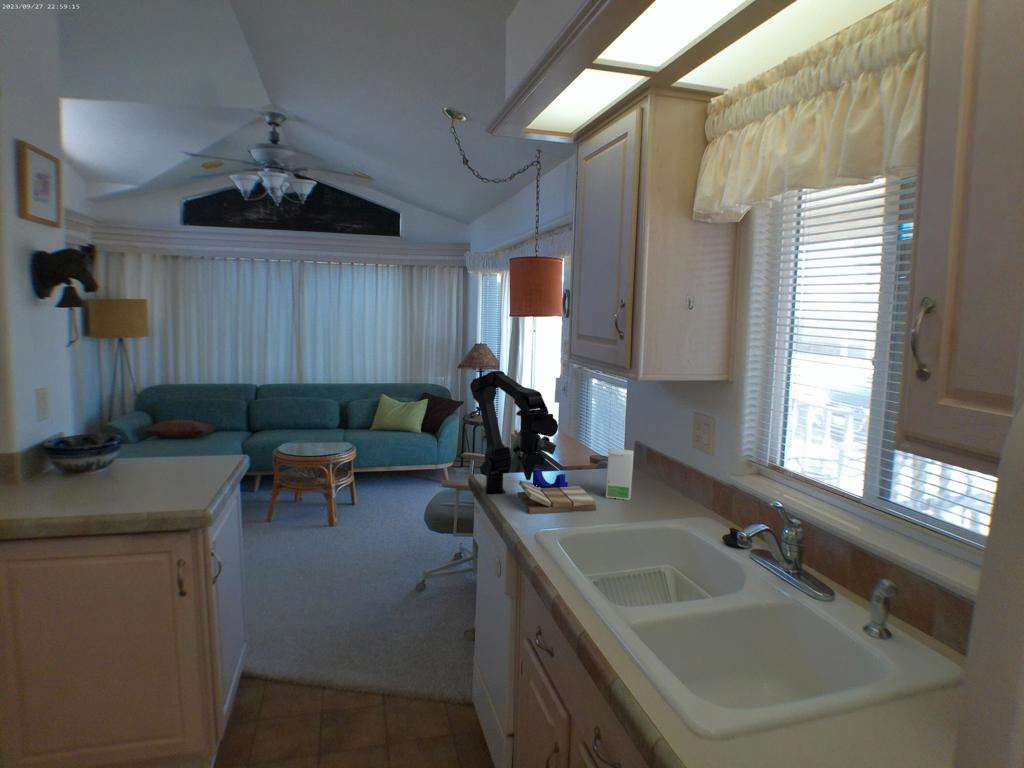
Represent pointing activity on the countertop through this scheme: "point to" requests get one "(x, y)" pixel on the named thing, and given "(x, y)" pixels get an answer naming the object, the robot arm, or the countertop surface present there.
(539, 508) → the board
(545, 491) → the mating strip
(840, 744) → the countertop surface
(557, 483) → the cable clip
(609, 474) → the skincare box
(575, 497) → the plank far
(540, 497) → the plank near
